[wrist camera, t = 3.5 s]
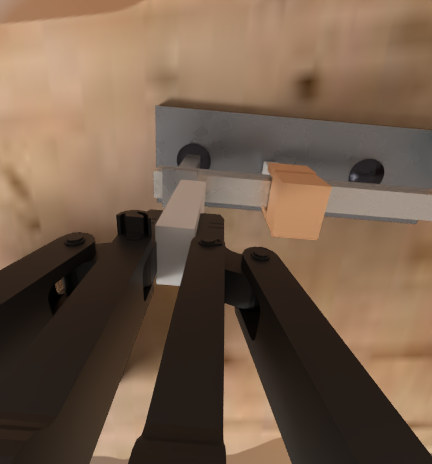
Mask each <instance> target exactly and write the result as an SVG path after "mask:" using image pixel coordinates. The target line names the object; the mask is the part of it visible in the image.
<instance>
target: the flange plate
mask: <svg viewBox="0 0 432 464" xmlns="http://www.w3.org/2000/svg"><path fill="white" fill-rule="evenodd" d="M155 110H156V168H157V167H158V166H159V165H162V166H174V167H179V165H180V164H181V162H182V161H183V159H184V158H185V156H186V155H187V154H196V155H201V159H200V169H209V170H220V171H232V172H244V173H255V174H262V171H263V164H264V161H267V162H278V163H280V164H292V165H303V166H308V167H309V168H310V169H312V170H313V171H314V172H316V175H317V176H319V177H320V178H321V179H325V180H336V181H348V182H359V183H371V184H383V185H394V186H406V187H417V188H429V189H432V130H426V129H415V128H404V127H393V126H382V125H370V124H359V123H348V122H337V121H326V120H314V119H303V118H292V117H281V116H270V115H259V114H247V113H236V112H225V111H214V110H203V109H191V108H180V107H169V106H155ZM157 202H161V203H162V198H157ZM204 206H208V207H220V208H232V209H244V210H256V211H262V209H261V207H258V206H246V205H234V204H223V203H211V202H205V204H204ZM324 216H327V217H339V218H351V219H363V220H374V221H386V222H398V223H410V224H416V223H417V221H418V220H412V219H400V218H388V217H376V216H365V215H353V214H341V213H329V212H325V214H324Z"/></svg>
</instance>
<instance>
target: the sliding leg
mask: <svg viewBox="0 0 432 464" xmlns="http://www.w3.org/2000/svg"><path fill="white" fill-rule="evenodd" d="M262 174H267V175H271V177H272V178H273V179H272V184H271V190H270V196H269V202H268V207H261V209H262V212H263V215H264V217H265V219H266V221H267V224H268V227H269V229H270V232H271V235H272V236H274V237H286V238H298V239H310V240H318V236H319V232H320V229H321V225H322V222H323V218H324V214H325V211H326V207H327V204H328V200H329V196H330V193H331V189H332V187H331V186H330V185H329V184H328V183H326V182H325V181H324V180H322V179H321V178H320V177H319V176H317V175H316V172H314V171H313V170H312V169H310V168H309V167H308V166H303V165H292V164H280V163H278V162H267V161H264V164H263V171H262Z"/></svg>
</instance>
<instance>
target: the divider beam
mask: <svg viewBox="0 0 432 464" xmlns="http://www.w3.org/2000/svg"><path fill="white" fill-rule="evenodd" d="M200 159H201V155H196V154H187V155H186V156H185V158H184V159H183V161H182V162H181V164H180V165H179V167H174V166H162V165H159V166H158V167H157V168H156V169H155V170H154V171H153V178H154V198H162V207H164V208H165V207H166V205H167V203H168V202H169V200H170V198H171V196H172V195H173V193H174V191H175V189H176V187H177V186H178V184H179V182H180V180H192V181H203V182H206V189H205V202H211V203H223V204H234V205H246V206H258V207H268V202H269V196H270V190H271V184H272V179H273V178H272V177H271V175H267V174H255V173H244V172H232V171H220V170H209V169H200ZM322 180H324V181H325V182H326V183H328V184H329V185H330V186H331V187H332V189H331V193H330V196H329V200H328V204H327V207H326V211H325V212H329V213H341V214H353V215H365V216H376V217H388V218H400V219H412V220H424V221H432V189H429V188H417V187H406V186H394V185H383V184H371V183H359V182H348V181H336V180H325V179H322Z"/></svg>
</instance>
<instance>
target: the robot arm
mask: <svg viewBox="0 0 432 464" xmlns="http://www.w3.org/2000/svg"><path fill="white" fill-rule="evenodd" d="M205 189H206V182H203V181H192V180H180V182H179V184H178V186H177V187H176V189H175V191H174V193H173V195H172V196H171V198H170V200H169V202H168V203H167V205H166V207H165V209H164V211H162V210H149V211H147V212H145V211H140V210H130V211H124V212H121V213H119V214H117V215H116V219H117V230H118V235H117V237H116V238H115V239H114V240H113V242H112V243H102V244H95V238H94V237H93V235H90V234H88V233H82V232H78V233H77V232H76V233H71V234H68V235H65V236H62V237H60V238H58V239H56V240H54V241H52V242H51V243H49V244H47V245H45V246H43V247H42V248H40V249H38V250H36V251H34V252H32V253H31V254H29V255H27V256H25V257H23V258H22V259H20V260H18V261H16V262H14V263H12V264H11V265H9V266H7V267H5V268H3V269H2V270H0V464H89V463H90V460H91V458H92V455H93V452H94V450H95V447H96V444H97V442H98V439H99V436H100V434H101V431H102V428H103V426H104V423H105V420H106V417H107V415H108V412H109V409H110V407H111V404H112V401H113V399H114V396H115V393H116V391H117V388H118V385H119V383H120V380H121V377H122V375H123V372H124V369H125V366H126V364H127V361H128V358H129V356H130V353H131V350H132V348H133V345H134V342H135V340H136V337H137V334H138V332H139V329H140V326H141V324H142V321H143V318H144V315H145V313H146V310H147V307H148V305H149V302H150V299H151V297H152V294H153V290H154V284H153V281H154V278H155V276H156V284H162V285H174V286H180V288H179V292H178V296H177V300H176V304H175V308H174V312H173V316H172V320H171V324H170V328H169V332H168V335H167V339H166V343H165V347H164V351H163V355H162V359H161V363H160V367H159V371H158V375H157V379H156V383H155V387H154V391H153V395H152V399H151V403H150V407H149V411H148V415H147V419H146V423H145V427H144V430H143V433H142V435H141V436H140V437H139V438H138V439H137V440H136V442H135V445H134V447H133V449H132V452H131V456H130V459H129V462H128V464H226V450H225V445H224V441H223V393H224V303H226V304H229V305H232V306H235V313H236V316H237V318H238V321H239V324H240V326H241V329H242V332H243V334H244V337H245V340H246V342H247V345H248V348H249V350H250V353H251V356H252V358H253V361H254V364H255V366H256V369H257V372H258V374H259V377H260V380H261V382H262V385H263V388H264V390H265V393H266V396H267V398H268V401H269V404H270V406H271V409H272V412H273V414H274V417H275V420H276V422H277V425H278V428H279V430H280V433H281V436H282V438H283V441H284V444H285V446H286V449H287V452H288V455H289V457H290V460H291V462H292V464H432V456H431V454H430V453H429V452H428V450H427V449H426V448H425V447H424V445H423V444H422V443H421V441H420V440H419V439H418V437H417V436H416V435H415V434H414V432H413V431H412V430H411V428H410V427H409V426H408V424H407V423H406V422H405V421H404V419H403V418H402V417H401V415H400V414H399V413H398V411H397V410H396V409H395V408H394V406H393V405H392V404H391V402H390V401H389V400H388V398H387V397H386V396H385V395H384V393H383V392H382V391H381V389H380V388H379V387H378V385H377V384H376V383H375V382H374V380H373V379H372V378H371V376H370V375H369V374H368V372H367V371H366V370H365V369H364V367H363V366H362V365H361V363H360V362H359V361H358V359H357V358H356V357H355V356H354V354H353V353H352V352H351V350H350V349H349V348H348V346H347V345H346V344H345V343H344V341H343V340H342V339H341V337H340V336H339V335H338V333H337V332H336V331H335V329H334V328H333V327H332V326H331V324H330V323H329V322H328V320H327V319H326V318H325V316H324V315H323V314H322V313H321V311H320V310H319V309H318V307H317V306H316V305H315V303H314V302H313V301H312V300H311V298H310V297H309V296H308V294H307V293H306V292H305V290H304V289H303V288H302V287H301V285H300V284H299V283H298V281H297V280H296V279H295V277H294V276H293V275H292V274H291V272H290V271H289V270H288V268H287V267H286V266H285V264H284V263H283V262H282V261H281V259H280V258H279V257H278V255H277V254H276V253H274V252H273V251H271V250H269V249H267V248H263V247H250V248H247V249H245V250H244V252H243V254H238V253H235V252H233V251H231V250H229V249H228V248H226V246H225V243H224V219H223V217H222V216H221V215H216V214H205V213H204V204H205ZM60 279H62V282H63V287H64V289H62V290H61V291H60V292H58V293H57V291H56V288H55V283H56V282H58V281H59V280H60Z"/></svg>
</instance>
